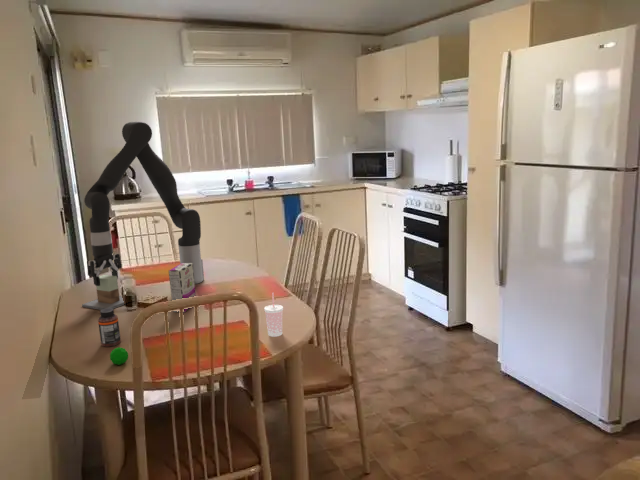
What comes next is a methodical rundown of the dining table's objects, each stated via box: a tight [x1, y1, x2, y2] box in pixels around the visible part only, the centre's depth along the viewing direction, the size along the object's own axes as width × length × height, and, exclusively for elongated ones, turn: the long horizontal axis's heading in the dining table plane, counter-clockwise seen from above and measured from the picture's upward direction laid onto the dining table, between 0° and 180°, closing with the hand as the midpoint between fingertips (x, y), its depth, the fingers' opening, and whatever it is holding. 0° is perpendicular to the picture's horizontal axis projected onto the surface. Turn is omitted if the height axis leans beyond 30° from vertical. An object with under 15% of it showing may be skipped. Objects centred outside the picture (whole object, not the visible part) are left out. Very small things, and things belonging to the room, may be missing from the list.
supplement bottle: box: [97, 308, 122, 347], centre depth 169 cm, size 6×6×11 cm
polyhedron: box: [109, 346, 129, 366], centre depth 155 cm, size 5×5×5 cm
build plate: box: [81, 295, 124, 311], centre depth 213 cm, size 14×14×1 cm
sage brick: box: [95, 274, 119, 291], centre depth 211 cm, size 4×7×5 cm, turn 63°
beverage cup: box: [263, 292, 284, 338], centre depth 172 cm, size 6×6×14 cm
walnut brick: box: [96, 288, 120, 304], centre depth 212 cm, size 4×7×5 cm, turn 64°
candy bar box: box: [168, 263, 197, 313], centre depth 202 cm, size 11×5×16 cm, turn 168°
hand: (106, 282), depth 211 cm, fingers open, 8 cm apart
